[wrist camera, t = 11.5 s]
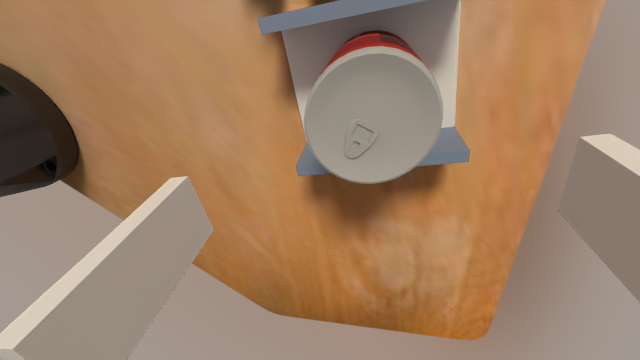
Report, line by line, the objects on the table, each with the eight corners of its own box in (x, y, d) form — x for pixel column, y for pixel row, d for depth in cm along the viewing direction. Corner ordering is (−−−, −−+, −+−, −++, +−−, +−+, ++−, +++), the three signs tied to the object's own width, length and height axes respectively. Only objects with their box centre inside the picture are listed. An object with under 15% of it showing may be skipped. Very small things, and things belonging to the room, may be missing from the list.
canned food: (320, 114, 28) (295, 171, 18) (336, 20, 23) (313, 32, 14) (399, 131, 27) (414, 197, 18) (431, 38, 23) (471, 64, 14)
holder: (309, 149, 30) (298, 176, 26) (279, 14, 24) (257, 18, 20) (452, 134, 27) (468, 161, 23) (460, -25, 21) (485, -32, 16)
